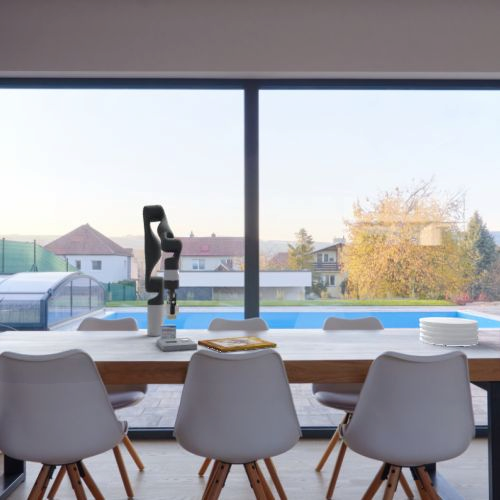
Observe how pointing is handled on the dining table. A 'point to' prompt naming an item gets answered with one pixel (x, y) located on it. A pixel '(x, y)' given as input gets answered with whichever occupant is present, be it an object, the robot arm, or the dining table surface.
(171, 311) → the robot arm
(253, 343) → the picture frame
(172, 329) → the medicine box
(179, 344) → the socket panel
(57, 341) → the dining table surface
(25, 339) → the dining table surface
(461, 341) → the plate stack
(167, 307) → the plug
